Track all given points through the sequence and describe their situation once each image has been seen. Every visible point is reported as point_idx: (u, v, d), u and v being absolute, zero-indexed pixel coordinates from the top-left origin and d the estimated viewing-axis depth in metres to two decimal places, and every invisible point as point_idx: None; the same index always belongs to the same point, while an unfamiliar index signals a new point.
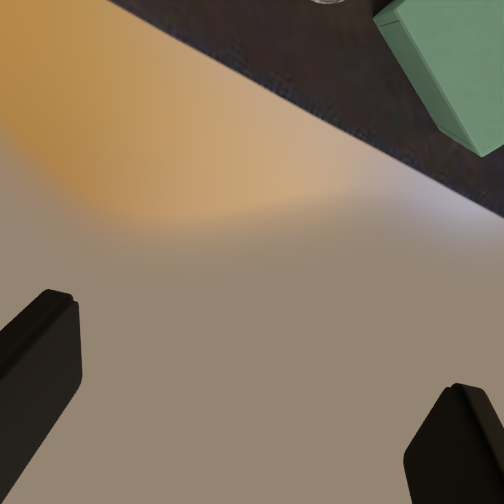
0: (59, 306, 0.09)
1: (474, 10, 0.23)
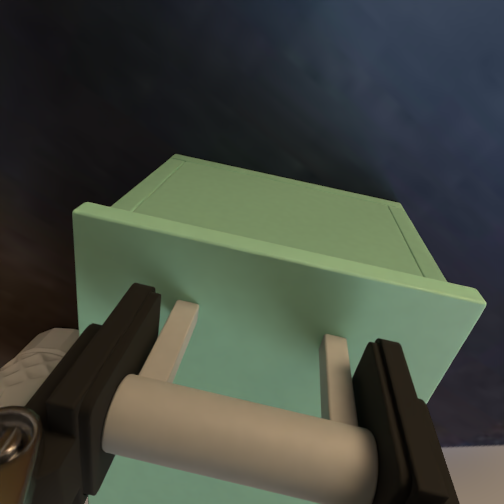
0: (148, 298, 0.09)
1: None
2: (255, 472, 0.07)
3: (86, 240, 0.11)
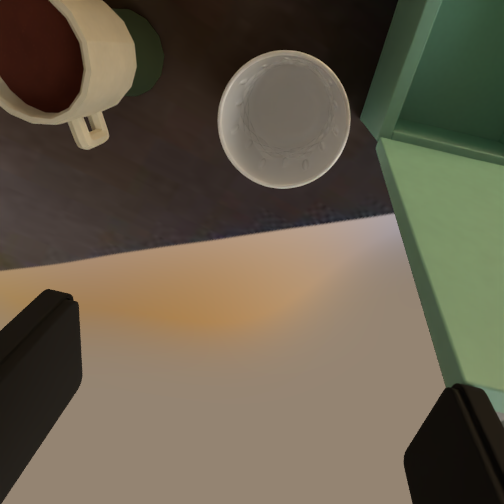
0: (59, 306, 0.09)
1: None
2: None
3: None
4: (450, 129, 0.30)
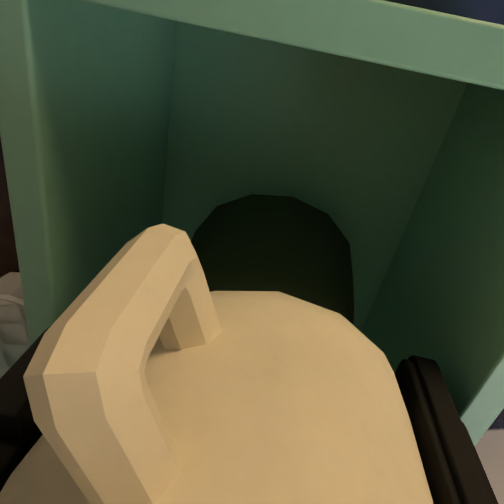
0: None
1: None
2: None
3: None
4: None
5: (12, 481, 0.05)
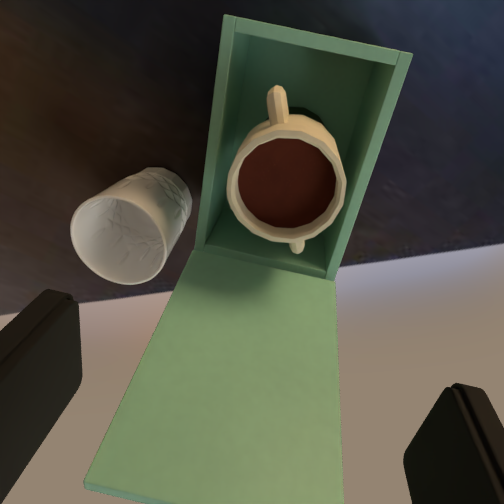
0: (59, 306, 0.09)
1: None
2: None
3: None
4: None
5: (247, 136, 0.24)
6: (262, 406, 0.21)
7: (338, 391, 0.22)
